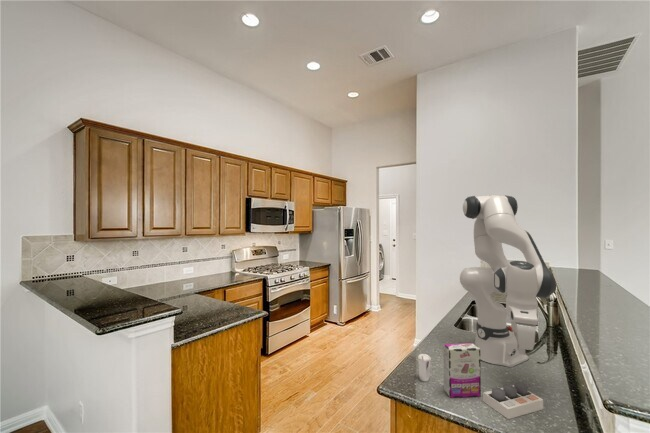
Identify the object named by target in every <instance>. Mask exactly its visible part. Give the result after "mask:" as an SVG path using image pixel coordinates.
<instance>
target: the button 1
mask: <svg viewBox="0 0 650 433" xmlns="http://www.w3.org/2000/svg"><path fill="white" fill-rule="evenodd" d="M491 390H492V398H493V399H495V400H496V401H498V402H503V401H505V391H504V390H502V389H500V387H492V388H491Z"/></svg>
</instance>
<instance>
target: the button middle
mask: <svg viewBox="0 0 650 433" xmlns="http://www.w3.org/2000/svg"><path fill="white" fill-rule="evenodd" d="M502 388H503V390H504V391H505V396H507V397H508V398H510V399H515V398H517V389H516V388H515V387H513V386H512V385H510V384H503V386H502Z"/></svg>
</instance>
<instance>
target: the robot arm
mask: <svg viewBox="0 0 650 433" xmlns="http://www.w3.org/2000/svg"><path fill="white" fill-rule="evenodd" d="M518 208H519V204H518V202H517V199H516V198H515V197H513V196H512V195H511V196H510V195H497V194H489V195H477V196H476V195H472V196H467V197H466V198H465V199H464V200H463V204H462V211H463V214H464V216H465V217H466V218H467V219H472V220H474V219H475V221H474V224H473V242H474V254H475V255H476V257H477V258H478V259H479V260H481V261H483V262H485V263H487V264H488V265H489V267H481V266H473V267H467V268H464V269H463V270H461V272H460V275H459V283H460V284H461V287H462V288H463V289H464V290H465V291H467V292H468V293H469V294H470V296H472V298H473V299H474V300H473V301H474V302H475V304H476V311H477V321H476V324H475V327H476V329H475V330H476V333H475V340H474V341H475V342H474V344H475V345H476V346H477V347H479V348H480V361H483V362H486V363H488V364H493V365H499V366H504V367H507V368H513V367H515V366H517V365H519V364H521V363H525V362H526V361H528V360H529V356H528V355H527V354H526V350H527V351H533V349H534V348H535V343H536V342H535V341H536V328H537V327H536V326H539V317H538V316H539V315H538V313H539V308H538V307H539V305H538V304H539V303H538V300H537V298H541V299H546V298H549V297H550V296H551V295H552V294H554V293H555V291H556V290H557V281H556V279H555V276H554V275H553V274H552V272H551V271H550V270H549V268H548V266H547V265H546V262H545V261H544V259H543V256H542V255H541V253H540V250H539V248H538V247H537V244H536V242H535V240H534V238H533V237H532V235H531V234H530V233H529V232H528V231H527V230H525V229H523V227H521V225H519V223H518V222H517V220H516V217H515V216H516V215H517V212H518ZM503 244H505V245H507V246H511V247H513V248H516V250H518V251H520V252H521V253H522V254H523V256H524V258H525V260H526V261H523V260H512V261H509V260H508V259H507V257H506V254H505V251H504V249H503V248H504V247H503ZM492 294H496V295H497V294H498V295H499V294H500V295H506V298H505V306H504V304H502V303H500V302H499V301H497V300H495V299H493V298H492ZM507 317H509V319H510V320H511V323H510V325H511V326H510V325H508V326H507ZM510 332H511V333H513V335H514V337H513V336H512V335H511V334H510Z"/></svg>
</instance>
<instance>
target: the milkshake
mask: <svg viewBox="0 0 650 433" xmlns="http://www.w3.org/2000/svg"><path fill="white" fill-rule="evenodd" d="M431 359H432V358H431V356H430V355H428V354H426V353H419V355H418V356H417V361H418V372H419V374H418V375H419V380H420V381H421V382H429V380H430V370H431V361H432V360H431Z"/></svg>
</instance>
